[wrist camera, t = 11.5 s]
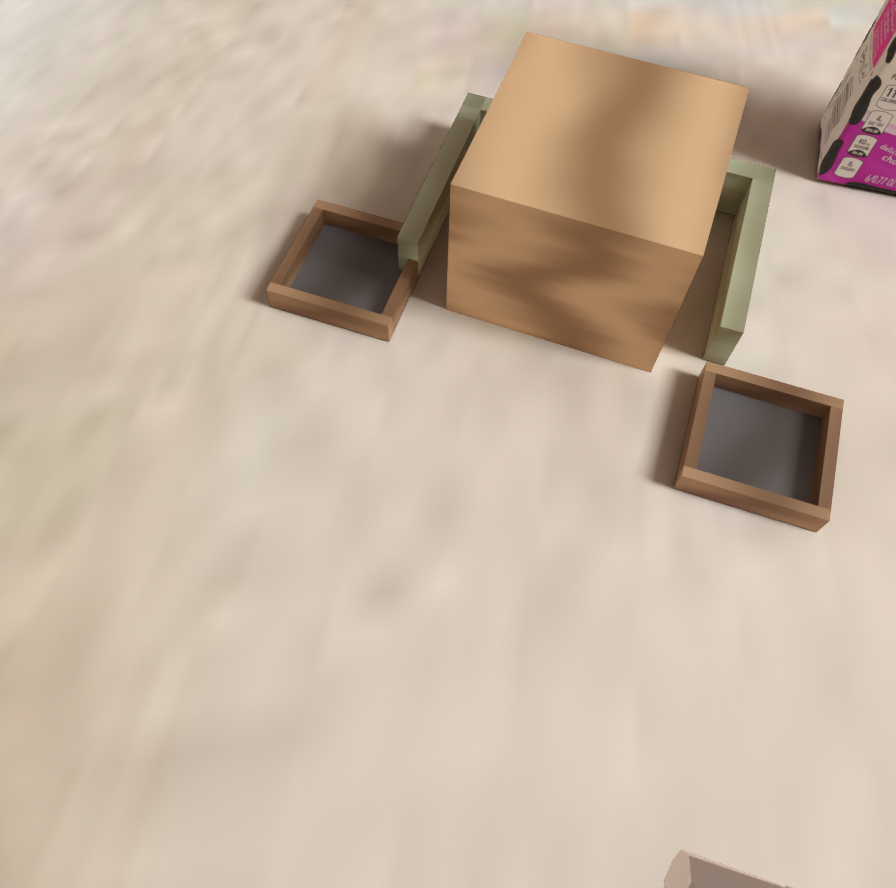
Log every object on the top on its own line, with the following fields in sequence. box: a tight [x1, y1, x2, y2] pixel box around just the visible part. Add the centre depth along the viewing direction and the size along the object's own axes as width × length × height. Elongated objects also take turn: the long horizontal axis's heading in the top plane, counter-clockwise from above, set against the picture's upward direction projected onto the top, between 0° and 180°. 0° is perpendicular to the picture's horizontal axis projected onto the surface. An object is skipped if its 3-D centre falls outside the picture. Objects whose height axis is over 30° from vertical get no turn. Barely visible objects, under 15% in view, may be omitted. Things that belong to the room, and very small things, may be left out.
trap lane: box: [266, 93, 844, 532], centre depth 38 cm, size 26×18×2 cm
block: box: [446, 32, 750, 372], centre depth 36 cm, size 10×10×8 cm
